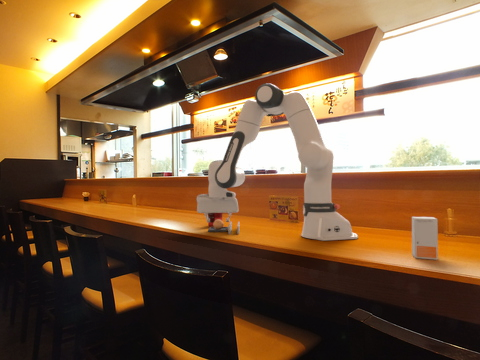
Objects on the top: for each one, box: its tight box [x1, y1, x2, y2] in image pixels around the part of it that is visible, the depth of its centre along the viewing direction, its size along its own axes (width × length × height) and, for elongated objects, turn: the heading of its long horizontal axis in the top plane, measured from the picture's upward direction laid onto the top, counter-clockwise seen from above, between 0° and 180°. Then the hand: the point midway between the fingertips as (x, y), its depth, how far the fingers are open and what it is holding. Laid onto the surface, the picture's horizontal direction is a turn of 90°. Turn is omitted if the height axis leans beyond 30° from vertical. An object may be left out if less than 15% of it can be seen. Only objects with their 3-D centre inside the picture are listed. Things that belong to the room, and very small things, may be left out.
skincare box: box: [411, 216, 439, 261], centre depth 87 cm, size 6×4×12 cm
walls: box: [228, 221, 241, 235], centre depth 139 cm, size 5×16×4 cm, turn 179°
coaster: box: [207, 226, 229, 233], centre depth 143 cm, size 9×9×1 cm
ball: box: [213, 219, 224, 230], centre depth 143 cm, size 5×5×5 cm
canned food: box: [207, 213, 223, 228], centre depth 158 cm, size 8×8×11 cm
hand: (218, 222), depth 143 cm, fingers open, 8 cm apart
